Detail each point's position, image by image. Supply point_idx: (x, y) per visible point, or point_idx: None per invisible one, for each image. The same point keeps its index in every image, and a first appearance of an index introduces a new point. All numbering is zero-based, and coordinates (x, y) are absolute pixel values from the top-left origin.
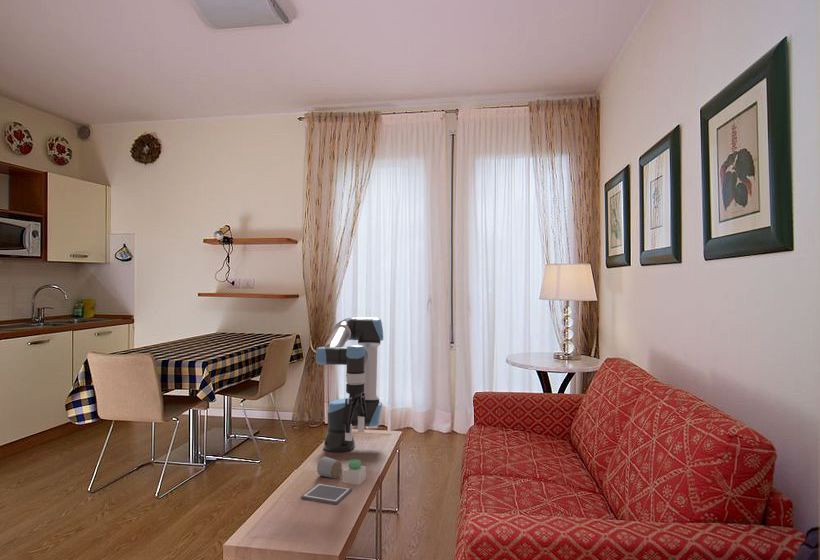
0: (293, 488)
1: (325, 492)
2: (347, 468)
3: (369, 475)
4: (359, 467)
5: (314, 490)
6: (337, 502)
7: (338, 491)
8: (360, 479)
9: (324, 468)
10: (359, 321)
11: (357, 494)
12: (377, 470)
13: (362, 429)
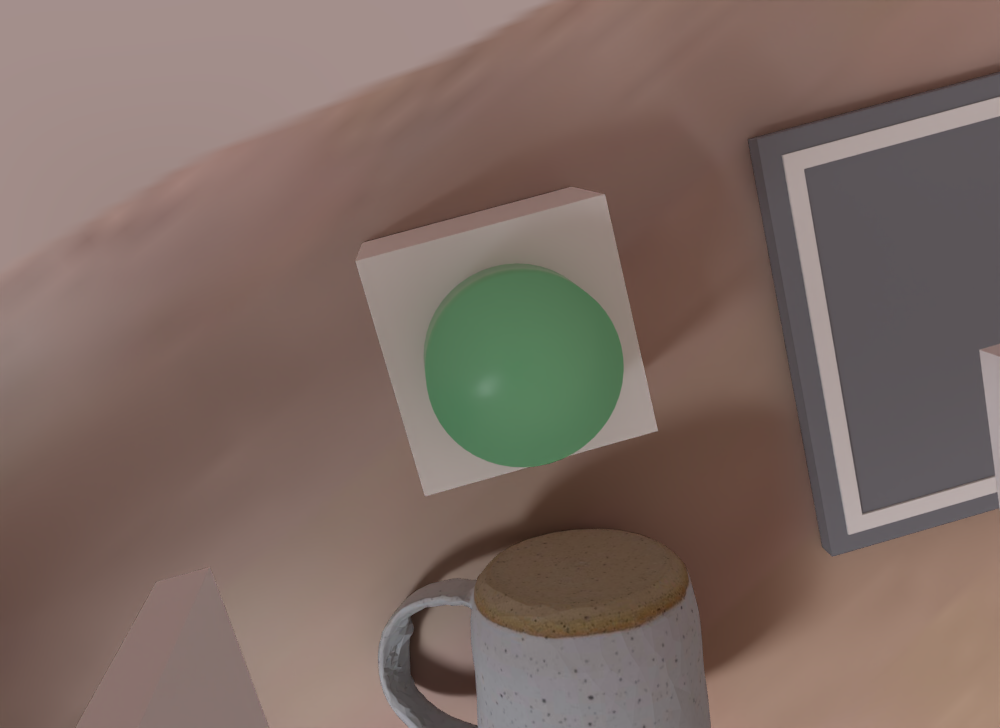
0: (997, 681)
1: (987, 322)
2: None
3: (258, 266)
4: None
5: None
6: None
7: (900, 221)
8: (530, 201)
9: (704, 678)
10: None
11: (800, 14)
12: (51, 288)
13: (205, 647)
